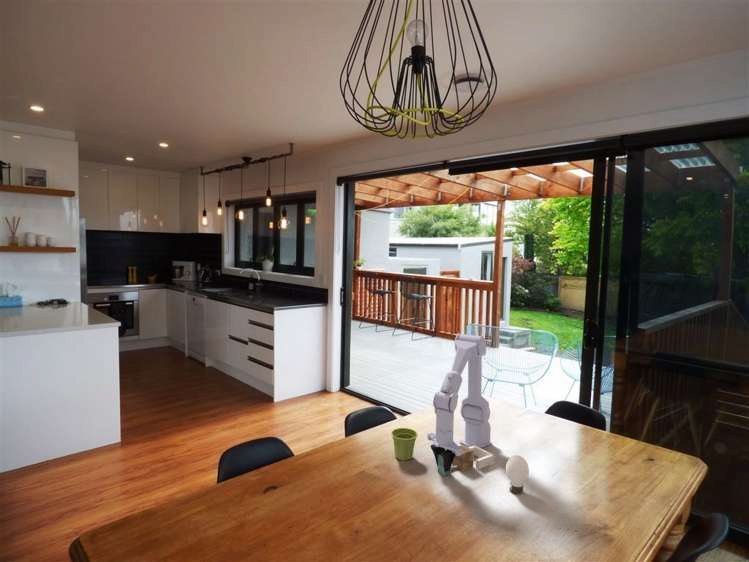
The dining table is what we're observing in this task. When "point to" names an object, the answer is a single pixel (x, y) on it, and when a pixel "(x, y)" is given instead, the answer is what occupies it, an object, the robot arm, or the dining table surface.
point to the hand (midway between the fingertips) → (443, 468)
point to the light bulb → (517, 473)
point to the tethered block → (458, 461)
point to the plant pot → (404, 442)
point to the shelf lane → (482, 457)
